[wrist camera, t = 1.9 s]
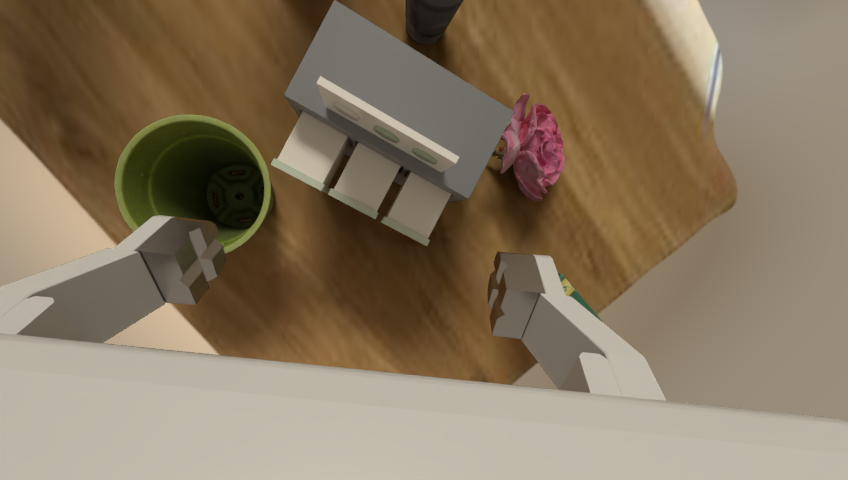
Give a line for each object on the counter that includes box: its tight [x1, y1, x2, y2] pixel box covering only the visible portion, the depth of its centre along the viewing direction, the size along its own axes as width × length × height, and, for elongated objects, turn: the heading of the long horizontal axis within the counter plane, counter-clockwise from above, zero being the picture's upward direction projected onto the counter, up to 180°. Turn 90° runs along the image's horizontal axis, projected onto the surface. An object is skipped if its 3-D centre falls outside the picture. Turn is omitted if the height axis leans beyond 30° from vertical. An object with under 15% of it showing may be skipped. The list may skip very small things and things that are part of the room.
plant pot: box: [114, 115, 274, 254], centre depth 35 cm, size 12×12×11 cm
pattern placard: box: [317, 76, 459, 172], centre depth 25 cm, size 10×1×5 cm, turn 62°
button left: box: [271, 111, 352, 194], centre depth 31 cm, size 4×7×4 cm, turn 152°
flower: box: [491, 92, 565, 201], centre depth 41 cm, size 11×10×10 cm
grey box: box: [284, 0, 514, 202], centre depth 35 cm, size 16×8×15 cm, turn 62°
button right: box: [380, 171, 451, 246], centre depth 33 cm, size 4×7×4 cm, turn 152°
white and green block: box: [328, 142, 401, 219], centre depth 32 cm, size 4×7×4 cm, turn 152°
